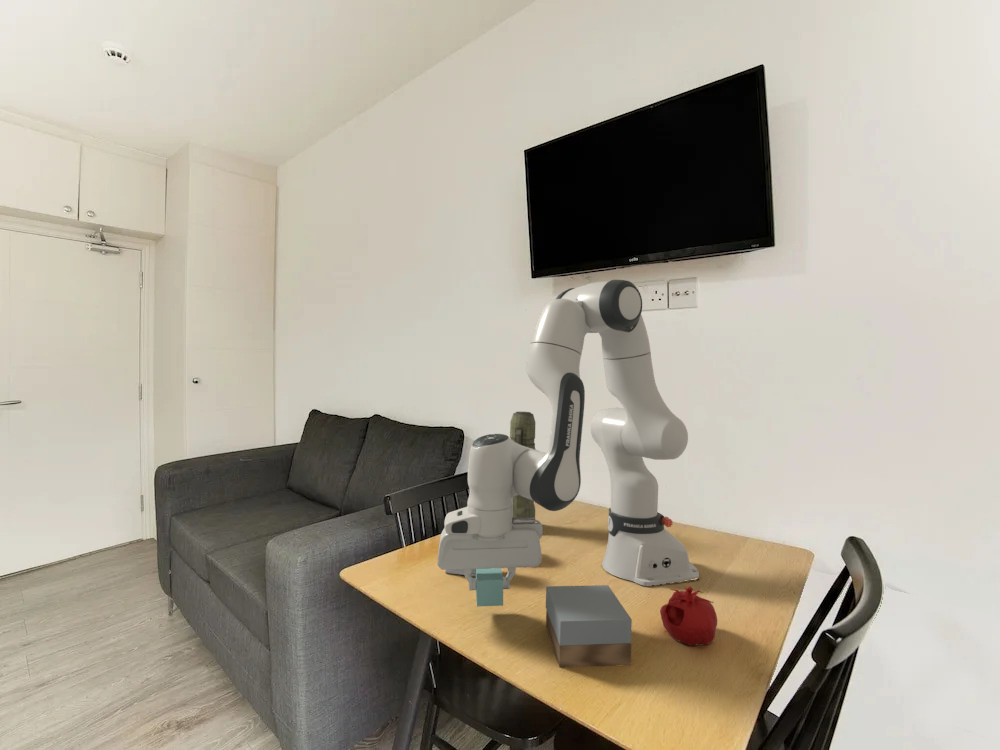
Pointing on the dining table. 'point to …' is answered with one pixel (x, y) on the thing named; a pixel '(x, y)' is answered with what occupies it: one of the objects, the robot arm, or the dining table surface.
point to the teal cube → (489, 587)
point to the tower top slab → (587, 615)
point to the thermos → (525, 435)
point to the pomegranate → (689, 618)
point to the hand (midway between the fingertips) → (489, 588)
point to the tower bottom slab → (588, 652)
